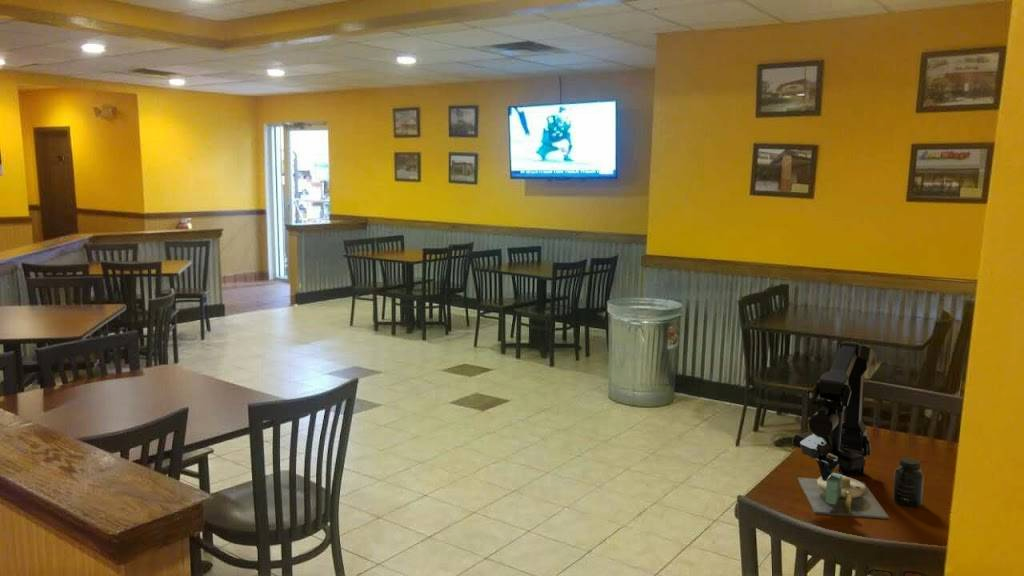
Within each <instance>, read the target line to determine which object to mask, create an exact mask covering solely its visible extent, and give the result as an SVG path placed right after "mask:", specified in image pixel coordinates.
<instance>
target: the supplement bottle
mask: <svg viewBox="0 0 1024 576" xmlns="http://www.w3.org/2000/svg"><path fill="white" fill-rule="evenodd" d="M924 476H925V475H924V474H923V472H922V471H921V461H920V460H919V459H916V458H912V457H901V458H900V460H899V467H898V468H896V469H895V470H894V481H893V495H892V496H893V497H892V498H893V501H894V503H895V504H896V505H899V506H901V507H903V508H909V509H911V508H912V509H913V508H915V509H917V508H920V507H921V505H922V502H923V492H924V479H925V477H924Z"/></svg>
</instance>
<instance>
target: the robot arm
mask: <svg viewBox="0 0 1024 576" xmlns="http://www.w3.org/2000/svg"><path fill="white" fill-rule="evenodd" d="M873 358H874V350H873V349H872V348H871V347H870V346H869V345H864V344H861V343H859V342H855V341H845V340H843V341H841V342H840V343H839V344H838V349H837V355H836V356H835V360H834V362H833V365H832V366H831V369H830V370H827V371H826V372H824V373H823V374H822V375H821V377H820V379H819V380H817V381H816V385H815V389H814V393H813V397H812V401H811V405H812V406H814V407H815V406H816V407H817V411H816V412H815V413H814V414H813V415H812V416H811V417H810V419H809V421H808V426H809V427H808V428H809V430H810V431H811V433H809V432H807V431H806V432H802V433H798V434H795V435H794V436H793V438H792V443H791V444H792V446H794V447H796V448H799V449H801V454H802V455H803V456H804V455H806V456H807V457H810V459H815V461H816V462H817V465H818V468H819V472H820V475H821V476H822V479H823V481H826V480H827V479H828V478H829V476H830V475H831V474H832V473H833V471H834V470H835V469H836V467H837V469H838V470H839V471H840V474H841V475H849V476H851V475H852V476H863V477H864V476H866V473H865V470H864V469H865V467H866V457H868V456H871V451H872V449H871V447H872V446H871V442H870V439H869V436H867V427H866V425H865V424H864V422H863V420H862V412H863V411H862V410H863V395H864V394H863V393H864V392H863V391H864V389H863V388H864V374H865V372H867V370H868V369H869V367H870V366H871V363H872V362H873V361H874V359H873ZM843 420H844V421H843ZM821 476H820V477H821Z"/></svg>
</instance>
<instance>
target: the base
mask: <svg viewBox="0 0 1024 576" xmlns="http://www.w3.org/2000/svg"><path fill="white" fill-rule="evenodd" d="M796 479H797V482H798V483H799V485H800V488H801V489H802V491H803V494H804V495H805V498H806V499H807V502H808V504H809V505H810V507H811V509H812V511H813V514H815V515H828V516H829V515H830V516H841V517H842V516H844V517H856V518H857V517H858V518H871V519H880V520H881V519H884V520H889V519H890V517H889V515H888V514H887V513H886V511H885V509H884V508H883V506H881V504H880V503H879V501H878V500H877V498H876V497H875V496H874V495H873V494H874V493H872V491H870V489H869V487H868V486H867V485H866V483H865V482H864V481H860V482H861V483H863V484H864V485H865V494H864V495H863V496H860V497H854V498H852V492H851V491H846V497H840V498H839V500H838V501H837V503H836V504H835V505H834V504H830V503H826V502H825V501H826V492H824V491H822V490H821V489H819V488H818V486H817V480H818V478H813V477H812V478H810V477H797V478H796Z"/></svg>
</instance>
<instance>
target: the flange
mask: <svg viewBox="0 0 1024 576" xmlns="http://www.w3.org/2000/svg"><path fill="white" fill-rule="evenodd" d="M817 479H818V480H817V486H818V488H819V489H821V490H822V491H824V492H826V501H825V502H826V503H830V504H834V505H835V504H836V503H837V501H838V500H839V498H840V497H846V491H851V492H852V498H854V497H860V496H863V495H864V494H865V485H866V484H865V485H864V484H863V483H861V482H862V481H859V480H857V479H855V478H853V477H848V476H846V475H844V474H842V473H836V472H832V473H831V475H830V476H829V478H828V479H827V480H826V481H823V479H822V476H820V477H818V478H817Z"/></svg>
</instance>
